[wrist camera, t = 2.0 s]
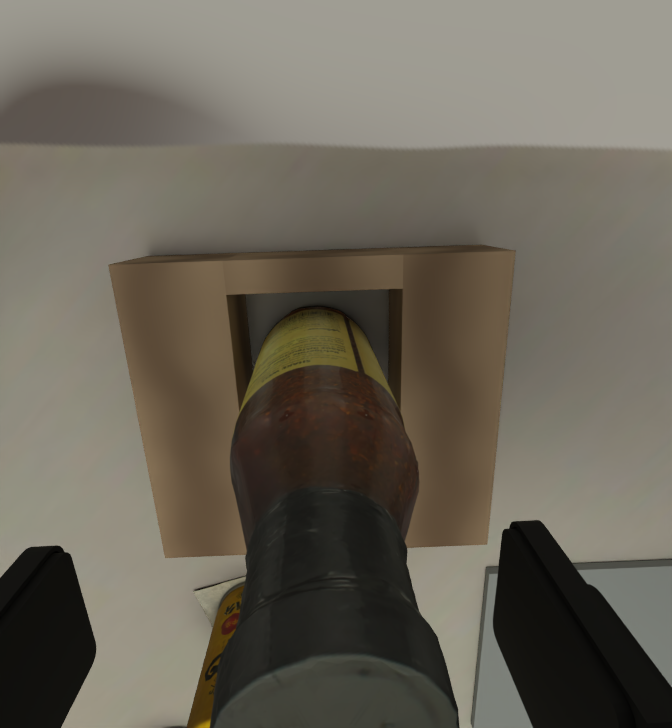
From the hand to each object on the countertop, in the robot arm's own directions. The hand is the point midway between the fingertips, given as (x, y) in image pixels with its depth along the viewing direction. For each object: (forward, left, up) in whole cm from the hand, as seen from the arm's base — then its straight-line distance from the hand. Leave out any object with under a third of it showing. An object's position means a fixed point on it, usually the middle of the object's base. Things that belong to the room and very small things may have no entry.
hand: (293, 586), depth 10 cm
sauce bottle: (0, 0, -17) cm, 17 cm away
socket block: (0, +2, -17) cm, 17 cm away
